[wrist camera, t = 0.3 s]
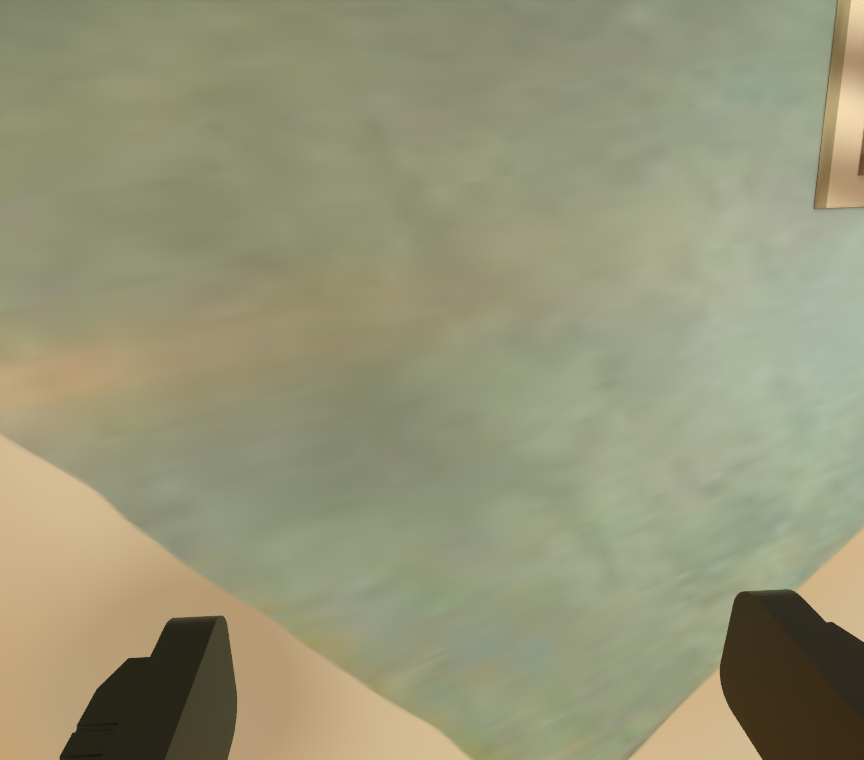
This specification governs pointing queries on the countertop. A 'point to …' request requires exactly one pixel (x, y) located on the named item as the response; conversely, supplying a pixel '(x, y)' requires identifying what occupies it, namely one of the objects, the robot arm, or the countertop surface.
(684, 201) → the countertop surface
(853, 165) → the shaker stand
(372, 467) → the countertop surface
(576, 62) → the countertop surface
